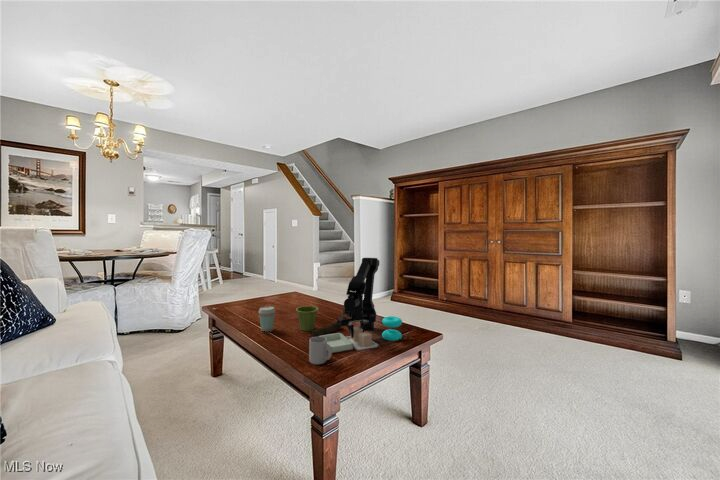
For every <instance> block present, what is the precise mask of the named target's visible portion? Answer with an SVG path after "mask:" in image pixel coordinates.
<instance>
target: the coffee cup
mask: <svg viewBox="0 0 720 480" xmlns="http://www.w3.org/2000/svg"><path fill="white" fill-rule="evenodd" d="M258 314H259V322H260V332H262V331H265V332H264V333H267V332H266V331H270V332H273V330H274V322H275V321H274V320H275V314H276V309H275V307H274V306H263V307H260V308H259V310H258Z"/></svg>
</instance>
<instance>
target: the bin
mask: <svg viewBox="0 0 720 480" xmlns="http://www.w3.org/2000/svg"><path fill="white" fill-rule="evenodd" d="M319 337H325V338H327V344H329V345H330V346H331V350H332V354H333V353H339V352H344V351H350V350H354V347H353V343H352V342H351V341H350V340H348V339H347V338H346V337H347V336H345V335H344V334H343V333H342V332H336V333H327V334H324V335H321V336H319Z"/></svg>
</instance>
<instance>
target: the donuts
mask: <svg viewBox="0 0 720 480" xmlns="http://www.w3.org/2000/svg"><path fill="white" fill-rule="evenodd" d="M381 322H382V324H383V326H385V327H387V328H391V329H385V330H384V331H383V332H382V333H381V337H382V338H383V340H387V341H399V339H400V340H401V339H402V337H403V334H402V332H401V331H400V330H397V329H392V328H398V327H400V326H402V324H403V320H402V318H400V317H399V316H398V317H397V316H385V317H383V318H382V320H381Z"/></svg>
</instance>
